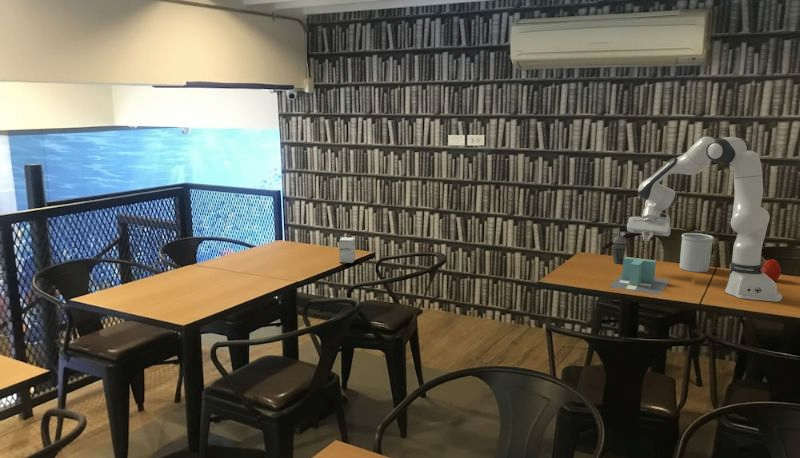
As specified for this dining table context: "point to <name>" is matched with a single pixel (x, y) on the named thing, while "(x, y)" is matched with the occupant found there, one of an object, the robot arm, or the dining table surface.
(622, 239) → the beverage cup
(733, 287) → the robot arm
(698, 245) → the utensil holder
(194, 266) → the dining table surface
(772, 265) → the apple
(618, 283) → the slate board
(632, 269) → the tee block
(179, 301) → the dining table surface
